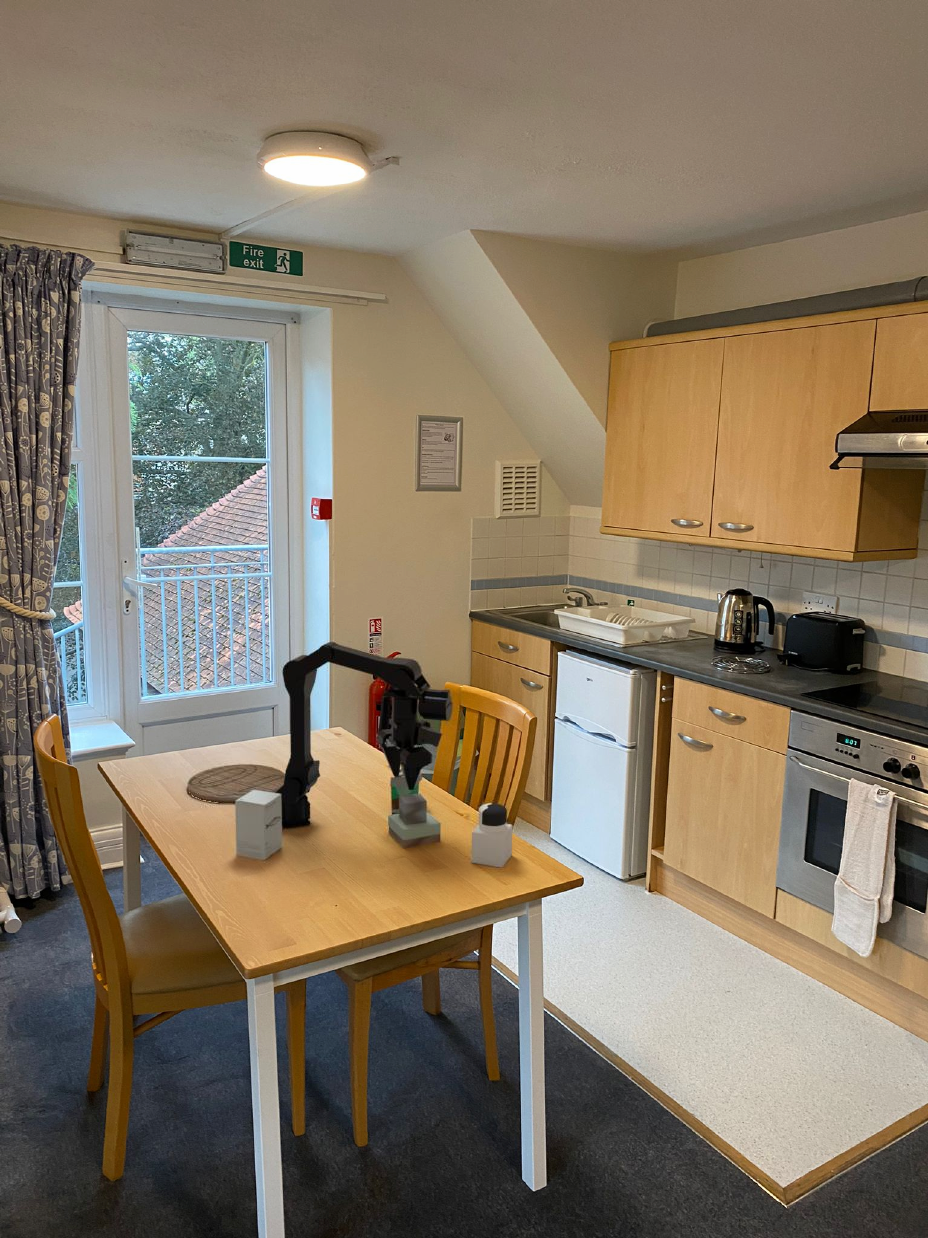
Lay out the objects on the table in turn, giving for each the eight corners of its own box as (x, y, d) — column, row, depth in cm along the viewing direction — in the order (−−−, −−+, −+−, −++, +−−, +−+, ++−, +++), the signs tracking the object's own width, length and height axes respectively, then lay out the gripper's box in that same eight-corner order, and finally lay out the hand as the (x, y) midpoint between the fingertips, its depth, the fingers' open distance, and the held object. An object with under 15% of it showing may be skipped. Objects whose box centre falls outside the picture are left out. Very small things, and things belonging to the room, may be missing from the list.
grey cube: (405, 825, 208) (405, 803, 207) (399, 816, 213) (399, 795, 212) (426, 822, 210) (426, 801, 209) (420, 814, 214) (420, 793, 213)
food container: (414, 820, 222) (415, 780, 220) (389, 817, 223) (390, 778, 221) (427, 801, 234) (427, 763, 232) (403, 799, 235) (403, 761, 233)
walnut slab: (403, 850, 207) (403, 840, 206) (388, 835, 215) (388, 825, 214) (440, 844, 210) (440, 833, 210) (424, 829, 218) (424, 819, 218)
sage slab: (403, 840, 206) (403, 829, 205) (388, 825, 214) (388, 815, 213) (440, 833, 210) (440, 823, 209) (424, 819, 218) (424, 809, 217)
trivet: (306, 783, 246) (306, 776, 246) (236, 813, 226) (236, 805, 225) (238, 764, 259) (238, 758, 259) (166, 791, 239) (166, 784, 238)
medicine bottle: (512, 855, 204) (513, 803, 202) (502, 868, 197) (504, 814, 195) (481, 850, 206) (482, 798, 204) (470, 863, 200) (471, 810, 197)
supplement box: (265, 861, 199) (263, 805, 196) (235, 855, 201) (233, 800, 199) (283, 848, 205) (282, 793, 203) (254, 842, 208) (253, 788, 206)
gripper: (455, 724, 203) (452, 792, 206) (422, 702, 220) (420, 765, 223) (407, 729, 198) (405, 799, 201) (377, 706, 215) (376, 771, 218)
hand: (403, 783), depth 211 cm, fingers open, 9 cm apart
